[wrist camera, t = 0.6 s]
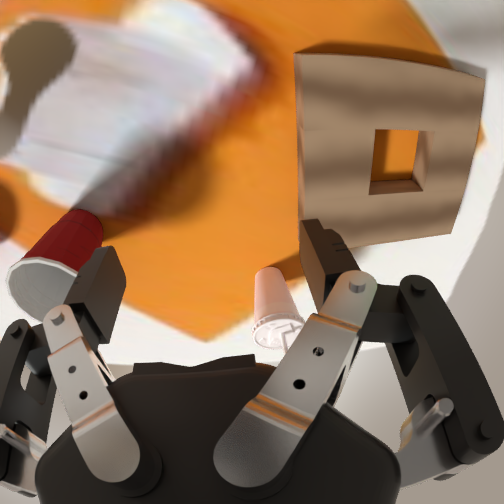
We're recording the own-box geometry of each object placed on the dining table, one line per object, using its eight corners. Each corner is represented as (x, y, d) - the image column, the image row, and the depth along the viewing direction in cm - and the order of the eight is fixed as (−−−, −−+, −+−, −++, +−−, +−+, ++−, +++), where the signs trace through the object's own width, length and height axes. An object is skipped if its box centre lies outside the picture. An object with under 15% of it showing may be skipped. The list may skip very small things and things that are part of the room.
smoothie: (300, 266, 41) (326, 355, 30) (277, 296, 44) (295, 382, 34) (257, 253, 39) (274, 349, 28) (237, 286, 42) (246, 378, 31)
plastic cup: (109, 273, 38) (88, 346, 29) (42, 241, 33) (6, 309, 24) (137, 214, 33) (112, 292, 24) (58, 176, 28) (6, 242, 19)
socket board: (293, 53, 23) (301, 54, 21) (468, 73, 24) (485, 79, 21) (298, 238, 38) (303, 254, 35) (440, 221, 38) (450, 233, 36)
